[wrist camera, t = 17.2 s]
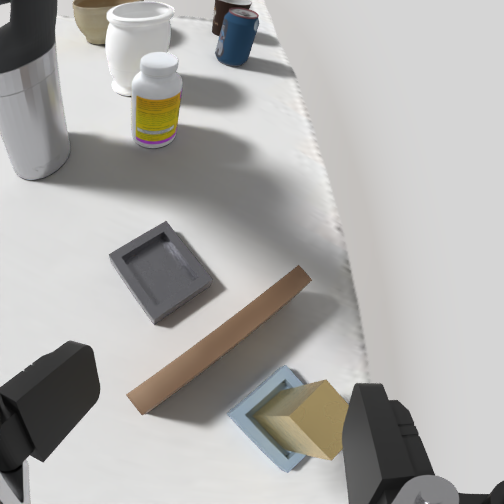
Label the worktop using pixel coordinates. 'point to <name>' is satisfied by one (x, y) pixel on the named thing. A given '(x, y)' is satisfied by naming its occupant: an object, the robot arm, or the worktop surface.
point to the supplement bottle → (156, 100)
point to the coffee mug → (226, 11)
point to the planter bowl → (95, 17)
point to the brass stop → (306, 419)
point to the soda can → (237, 36)
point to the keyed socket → (253, 429)
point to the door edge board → (217, 343)
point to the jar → (135, 39)
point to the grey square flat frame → (160, 271)
